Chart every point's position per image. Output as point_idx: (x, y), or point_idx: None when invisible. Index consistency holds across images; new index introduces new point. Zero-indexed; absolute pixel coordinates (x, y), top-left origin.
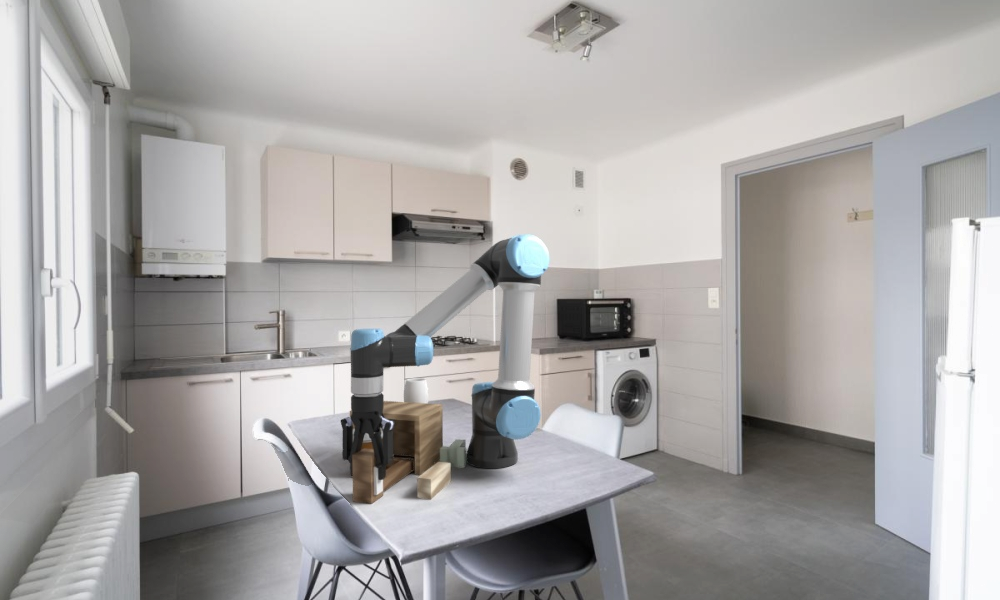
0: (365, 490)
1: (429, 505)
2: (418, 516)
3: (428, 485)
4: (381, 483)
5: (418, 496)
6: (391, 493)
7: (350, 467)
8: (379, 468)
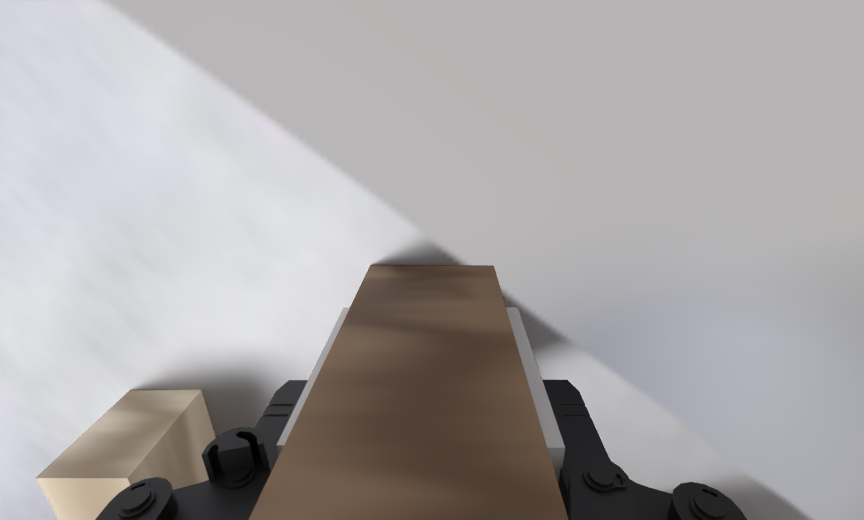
0: (400, 297)
1: (84, 332)
2: (27, 205)
3: (87, 444)
4: None
5: (191, 394)
6: None
7: (593, 435)
8: (273, 449)
